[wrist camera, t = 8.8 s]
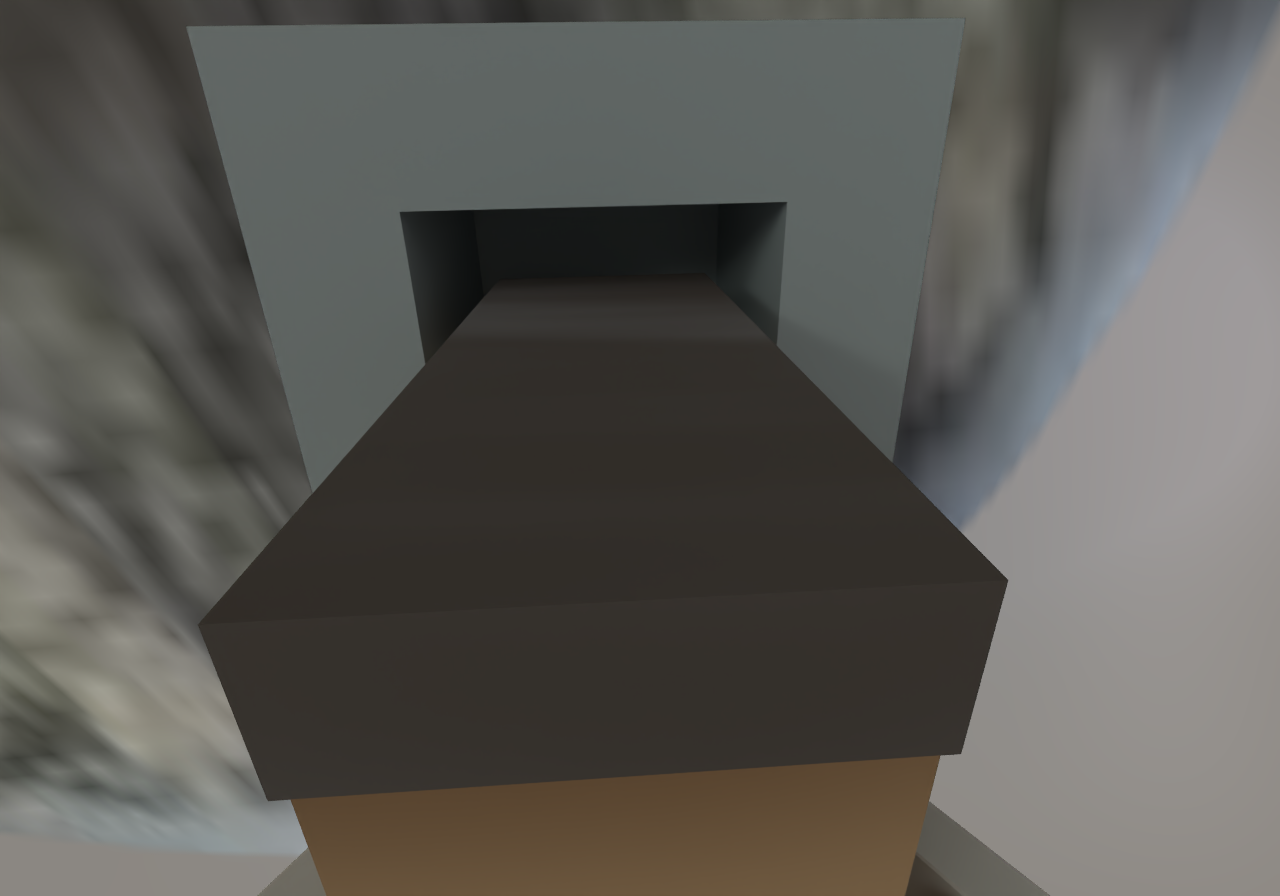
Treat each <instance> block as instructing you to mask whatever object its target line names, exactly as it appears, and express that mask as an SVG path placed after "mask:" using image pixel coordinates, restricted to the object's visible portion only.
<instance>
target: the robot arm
mask: <svg viewBox="0 0 1280 896" xmlns="http://www.w3.org/2000/svg"><path fill="white" fill-rule="evenodd" d="M258 896H326V893H325V891H324V888H323V885H322V883H321V880H320V877H319V875H318V872H317V869H316V866H315V864H314V861H313V858H312V856H311V853H310V850H309V848H307V849H306V850H305V851H304V852H303V853H302V854H301V855H300V856H299V857H298V858H297V859H296V860H295V861H293V862H292V863H291V864H290V865H289V866H288V867H287V868H286V869H285V870H284V871H283V872H282V873H281V874H280V875H279V876H278V877H277V878H276V879H275V880H273V882H271V883H270V884H269V885H268V886H267V887H266V888H265V889H264V890H263V891H262V892H261V893H260V894H259V895H258ZM905 896H1050V895H1048V894H1047V893H1046V892H1044V891H1043V890H1042V889H1041V888H1039V887H1038V886H1037V885H1036V884H1034V883H1033V882H1032V881H1031V880H1029V879H1028V878H1027V877H1025V876H1024V875H1023V874H1022V873H1020V872H1019V871H1018V870H1016V869H1015V868H1014V867H1013V866H1011V865H1010V864H1009V863H1007V862H1006V861H1005V860H1004V859H1002V858H1001V857H1000V856H998V855H997V854H996V853H994V852H993V851H992V850H991V849H989V848H988V847H987V846H986V845H984V844H983V843H982V842H981V841H979V840H978V839H977V838H975V837H974V836H973V835H972V834H970V833H969V832H968V831H967V830H965V829H964V828H963V827H961V826H960V825H959V824H958V823H956V822H955V821H954V820H952V819H951V818H950V817H949V816H947V815H946V814H945V813H943V812H942V811H941V810H940V809H938V808H937V807H935V805H933V804H932V803H931V802H928V806H927V810H926V814H925V818H924V822H923V826H922V830H921V834H920V838H919V842H918V846H917V850H916V854H915V858H914V862H913V866H912V870H911V874H910V878H909V882H908V886H907V889H906V893H905Z"/></svg>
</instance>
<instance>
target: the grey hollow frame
mask: <svg viewBox="0 0 1280 896" xmlns="http://www.w3.org/2000/svg"><path fill="white" fill-rule="evenodd" d="M964 24H965V18H909V19H816V20H723V21H629V22H536V23H442V24H348V25H255V26H186V28H187V31H188V35H189V39H190V42H191V46H192V50H193V53H194V57H195V61H196V65H197V68H198V72H199V76H200V79H201V83H202V87H203V90H204V94H205V98H206V102H207V105H208V109H209V113H210V116H211V120H212V124H213V127H214V131H215V135H216V138H217V142H218V146H219V150H220V153H221V157H222V161H223V164H224V168H225V172H226V175H227V179H228V183H229V187H230V190H231V194H232V198H233V201H234V205H235V209H236V212H237V216H238V220H239V223H240V227H241V231H242V235H243V238H244V242H245V246H246V249H247V253H248V257H249V260H250V264H251V268H252V272H253V275H254V279H255V283H256V286H257V290H258V294H259V297H260V301H261V305H262V309H263V312H264V316H265V320H266V323H267V327H268V331H269V334H270V338H271V342H272V345H273V349H274V353H275V357H276V360H277V364H278V368H279V371H280V375H281V379H282V382H283V386H284V390H285V394H286V397H287V401H288V405H289V408H290V412H291V416H292V419H293V423H294V427H295V430H296V434H297V438H298V442H299V445H300V449H301V453H302V456H303V460H304V464H305V467H306V471H307V475H308V479H309V482H310V486H311V490H312V493H313V492H314V491H315V490H316V489H317V488H318V487H319V486H320V484H321V483H322V482H323V481H324V480H325V479H326V478H327V476H328V475H329V474H330V473H331V472H332V471H333V470H334V468H335V467H336V466H337V465H338V464H339V463H340V461H341V460H342V459H343V458H344V457H345V456H346V455H347V453H348V452H349V451H350V450H351V449H352V448H353V447H354V445H355V444H356V443H357V442H358V441H359V440H360V439H361V437H362V436H363V435H364V434H365V433H366V432H367V431H368V429H369V428H370V427H371V426H372V425H373V424H374V423H375V421H376V420H377V419H378V418H379V417H380V416H381V415H382V413H383V412H384V411H385V410H386V409H387V408H388V407H389V405H390V404H391V403H392V402H393V401H394V400H395V398H396V397H397V396H398V395H399V394H400V393H401V392H402V390H403V389H404V388H405V387H406V386H407V385H408V384H409V382H410V381H411V380H412V379H413V378H414V377H415V376H416V374H417V373H418V372H419V371H420V370H421V369H422V368H423V366H424V365H425V364H426V363H427V362H428V361H429V360H430V358H431V357H432V356H433V355H434V354H435V353H436V352H437V350H438V349H439V348H440V347H441V346H442V345H443V344H444V342H445V341H446V340H447V339H448V338H449V337H450V335H451V334H452V333H453V332H454V331H455V330H456V329H457V327H458V326H459V325H460V324H461V323H462V322H463V321H464V319H465V318H466V317H467V316H468V315H469V314H470V313H471V311H472V310H473V309H474V308H475V307H476V306H477V305H478V303H479V302H480V301H481V300H482V299H483V298H484V297H485V295H486V294H487V293H488V292H489V291H490V290H491V289H492V287H493V286H494V285H495V284H496V283H497V282H498V281H499V279H520V278H553V277H585V276H618V275H650V274H683V273H705V274H706V275H707V276H708V277H709V278H710V279H711V280H712V281H713V282H714V283H715V284H716V285H717V286H718V287H719V288H720V289H721V290H722V291H723V292H724V293H725V294H726V295H727V296H728V297H729V298H730V299H731V300H732V301H733V302H734V303H735V304H736V305H737V306H738V307H739V308H740V309H741V310H742V311H743V312H744V313H745V314H746V315H747V316H748V317H749V318H750V319H751V320H752V321H753V322H754V323H755V324H756V325H757V326H758V327H759V328H760V329H761V330H762V331H763V332H764V333H765V334H766V335H767V336H768V337H769V338H770V339H771V340H772V341H773V342H774V343H775V344H776V345H777V346H778V347H779V349H780V350H781V351H782V352H783V353H784V354H785V355H786V356H787V357H788V358H789V359H790V360H791V361H792V362H793V363H794V364H795V365H796V366H797V367H798V368H799V369H800V370H801V371H802V372H803V373H804V374H805V375H806V376H807V377H808V378H809V379H810V380H811V381H812V382H813V383H814V384H815V385H816V386H817V387H818V388H819V389H820V390H821V391H822V392H823V393H824V394H825V395H826V396H827V397H828V398H829V399H830V400H831V401H832V402H833V403H834V404H835V405H836V406H837V407H838V408H839V409H840V410H841V411H842V412H843V413H844V414H845V415H846V416H847V417H848V418H849V419H850V420H851V421H852V422H853V423H854V424H855V425H856V426H857V428H858V429H859V430H860V431H861V432H862V433H863V434H864V435H865V436H866V437H867V438H868V439H869V440H870V441H871V442H872V443H873V444H874V445H875V446H876V447H877V448H878V449H879V450H880V451H881V452H882V453H883V454H884V455H885V456H886V457H887V458H888V459H889V460H890V461H891V462H893V456H894V450H895V444H896V438H897V432H898V426H899V420H900V414H901V408H902V401H903V395H904V389H905V383H906V377H907V371H908V365H909V359H910V353H911V347H912V341H913V335H914V328H915V322H916V316H917V310H918V304H919V298H920V292H921V286H922V280H923V274H924V268H925V261H926V255H927V249H928V243H929V237H930V231H931V225H932V219H933V213H934V207H935V201H936V195H937V188H938V182H939V176H940V170H941V164H942V158H943V152H944V146H945V140H946V134H947V128H948V121H949V115H950V109H951V103H952V97H953V91H954V85H955V79H956V73H957V67H958V61H959V55H960V48H961V42H962V36H963V30H964Z"/></svg>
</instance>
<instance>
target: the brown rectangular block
mask: <svg viewBox="0 0 1280 896" xmlns="http://www.w3.org/2000/svg"><path fill="white" fill-rule="evenodd" d="M1007 583H1008V580H1007V578H1006V577H1005V576H1003V574H1001V573H1000V571H999V570H998V569H997V568H996V567H995V566H994V565H993V564H992V563H991V562H990V561H989V560H988V559H987V558H986V557H985V556H984V555H983V554H982V553H981V552H980V551H979V550H978V549H977V548H976V547H975V546H974V545H973V544H972V543H971V542H970V541H969V540H968V539H967V538H966V537H965V536H964V535H963V534H962V533H961V532H960V531H959V530H958V529H957V528H956V527H955V526H954V525H953V524H952V523H951V522H950V521H949V520H948V519H947V518H946V517H945V516H944V515H943V514H942V513H941V512H940V511H939V510H938V509H937V508H936V507H935V506H934V504H933V503H932V502H931V501H930V500H929V499H928V498H927V497H926V496H925V495H924V494H923V493H922V492H921V491H920V490H919V489H918V488H917V487H916V486H915V485H914V484H913V483H912V482H911V481H910V480H909V479H908V478H907V477H906V476H905V475H904V474H903V473H902V472H901V471H900V470H899V469H898V468H897V467H896V466H895V465H894V464H893V463H892V462H891V461H890V460H889V459H888V458H887V457H886V456H885V455H884V454H883V453H882V452H881V451H880V450H879V449H878V448H877V447H876V446H875V445H874V444H873V443H872V442H871V441H870V440H869V439H868V438H867V437H866V436H865V435H864V434H863V433H862V432H861V431H860V430H859V429H858V428H857V426H856V425H855V424H854V423H853V422H852V421H851V420H850V419H849V418H848V417H847V416H846V415H845V414H844V413H843V412H842V411H841V410H840V409H839V408H838V407H837V406H836V405H835V404H834V403H833V402H832V401H831V400H830V399H829V398H828V397H827V396H826V395H825V394H824V393H823V392H822V391H821V390H820V389H819V388H818V387H817V386H816V385H815V384H814V383H813V382H812V381H811V380H810V379H809V378H808V377H807V376H806V375H805V374H804V373H803V372H802V371H801V370H800V369H799V368H798V367H797V366H796V365H795V364H794V363H793V362H792V361H791V360H790V359H789V358H788V357H787V356H786V355H785V354H784V353H783V352H782V351H781V350H780V349H779V347H778V346H777V345H776V344H775V343H774V342H773V341H772V340H771V339H770V338H769V337H768V336H767V335H766V334H765V333H764V332H763V331H762V330H761V329H760V328H759V327H758V326H757V325H756V324H755V323H754V322H753V321H752V320H751V319H750V318H749V317H748V316H747V315H746V314H745V313H744V312H743V311H742V310H741V309H740V308H739V307H738V306H737V305H736V304H735V303H734V302H733V301H732V300H731V299H730V298H729V297H728V296H727V295H726V294H725V293H724V292H723V291H722V290H721V289H720V288H719V287H718V286H717V285H716V284H715V283H714V282H713V281H712V280H711V279H710V278H709V277H708V276H707V275H706V274H705V273H683V274H650V275H618V276H585V277H553V278H520V279H499V281H498V282H497V283H496V284H495V285H494V286H493V287H492V289H491V290H490V291H489V292H488V293H487V294H486V295H485V297H484V298H483V299H482V300H481V301H480V302H479V303H478V305H477V306H476V307H475V308H474V309H473V310H472V311H471V313H470V314H469V315H468V316H467V317H466V318H465V319H464V321H463V322H462V323H461V324H460V325H459V326H458V327H457V329H456V330H455V331H454V332H453V333H452V334H451V335H450V337H449V338H448V339H447V340H446V341H445V342H444V344H443V345H442V346H441V347H440V348H439V349H438V350H437V352H436V353H435V354H434V355H433V356H432V357H431V358H430V360H429V361H428V362H427V363H426V364H425V365H424V366H423V368H422V369H421V370H420V371H419V372H418V373H417V374H416V376H415V377H414V378H413V379H412V380H411V381H410V382H409V384H408V385H407V386H406V387H405V388H404V389H403V390H402V392H401V393H400V394H399V395H398V396H397V397H396V398H395V400H394V401H393V402H392V403H391V404H390V405H389V407H388V408H387V409H386V410H385V411H384V412H383V413H382V415H381V416H380V417H379V418H378V419H377V420H376V421H375V423H374V424H373V425H372V426H371V427H370V428H369V429H368V431H367V432H366V433H365V434H364V435H363V436H362V437H361V439H360V440H359V441H358V442H357V443H356V444H355V445H354V447H353V448H352V449H351V450H350V451H349V452H348V453H347V455H346V456H345V457H344V458H343V459H342V460H341V461H340V463H339V464H338V465H337V466H336V467H335V468H334V470H333V471H332V472H331V473H330V474H329V475H328V476H327V478H326V479H325V480H324V481H323V482H322V483H321V484H320V486H319V487H318V488H317V489H316V490H315V491H314V492H313V494H312V495H311V496H310V497H309V498H308V499H307V500H306V502H305V503H304V504H303V505H302V506H301V507H300V508H299V510H298V511H297V512H296V513H295V514H294V515H293V516H292V518H291V519H290V520H289V521H288V522H287V523H286V524H285V526H284V527H283V528H282V529H281V530H280V531H279V533H278V534H277V535H276V536H275V537H274V538H273V539H272V541H271V542H270V543H269V544H268V545H267V546H266V547H265V549H264V550H263V551H262V552H261V553H260V554H259V555H258V557H257V558H256V559H255V560H254V561H253V562H252V563H251V565H250V566H249V567H248V568H247V569H246V570H245V571H244V573H243V574H242V575H241V576H240V577H239V578H238V579H237V581H236V582H235V583H234V584H233V585H232V586H231V588H230V589H229V590H228V591H227V592H226V593H225V594H224V596H223V597H222V598H221V599H220V600H219V601H218V602H217V604H216V605H215V606H214V607H213V608H212V609H211V610H210V612H209V613H208V614H207V615H206V616H205V617H204V618H203V620H202V621H201V622H200V623H199V624H198V626H199V628H200V631H201V634H202V636H203V639H204V641H205V644H206V646H207V649H208V651H209V654H210V656H211V659H212V661H213V664H214V666H215V669H216V671H217V674H218V677H219V679H220V682H221V684H222V687H223V689H224V692H225V694H226V697H227V699H228V702H229V704H230V707H231V709H232V712H233V714H234V717H235V719H236V722H237V725H238V727H239V730H240V732H241V735H242V737H243V740H244V742H245V745H246V747H247V750H248V752H249V755H250V757H251V760H252V762H253V765H254V768H255V770H256V773H257V775H258V778H259V780H260V783H261V785H262V788H263V790H264V793H265V795H266V798H267V800H268V801H276V800H291V802H292V805H293V807H294V810H295V813H296V816H297V818H298V821H299V824H300V826H301V829H302V832H303V834H304V837H305V840H306V842H307V845H308V848H309V850H310V853H311V856H312V858H313V861H314V864H315V866H316V869H317V872H318V875H319V877H320V880H321V883H322V885H323V888H324V891H325V893H326V896H905V893H906V889H907V886H908V882H909V878H910V874H911V870H912V866H913V862H914V858H915V854H916V850H917V846H918V842H919V838H920V834H921V830H922V826H923V822H924V818H925V814H926V810H927V806H928V802H929V798H930V794H931V791H932V787H933V783H934V779H935V775H936V771H937V767H938V763H939V759H940V755H954V754H961V752H962V748H963V745H964V741H965V738H966V734H967V730H968V726H969V722H970V719H971V715H972V712H973V708H974V704H975V701H976V697H977V693H978V689H979V686H980V682H981V678H982V675H983V671H984V668H985V664H986V660H987V657H988V653H989V649H990V646H991V642H992V638H993V634H994V631H995V627H996V623H997V620H998V616H999V612H1000V609H1001V605H1002V601H1003V598H1004V594H1005V590H1006V587H1007Z"/></svg>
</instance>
